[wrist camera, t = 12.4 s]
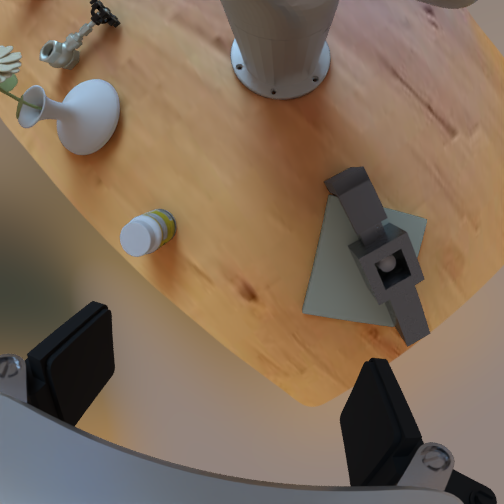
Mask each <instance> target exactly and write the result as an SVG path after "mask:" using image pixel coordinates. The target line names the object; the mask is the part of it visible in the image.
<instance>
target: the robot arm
mask: <svg viewBox="0 0 504 504" xmlns="http://www.w3.org/2000/svg"><path fill="white" fill-rule="evenodd" d="M220 1H221V3H222V5H223V8H224V11H225V13H226V16H227V19H228V21H229V24H230V26H231V29H232V32H233V34H234V37H235V39H234V41H233V44H232V47H231V55H230V56H231V64H232V67H233V69H234V72H235V74H236V76H237V77H238V79H239V80H240V81H241V82H242V84H243V85H245V86H246V87H247V88H248V89H249V90H251V91H253V92H254V93H256V94H258V95H261V96H263V97H266V98H271V99H279V100H286V99H294V98H298V97H301V96H304V95H306V94H308V93H310V92H311V91H313V90H314V89H315V88H317V87H318V86H319V85H320V83H321V82H322V81H323V80H324V78H325V76H326V74H327V72H328V69H329V66H330V59H331V58H330V50H329V47H328V44H327V42H326V38H327V35H328V32H329V29H330V26H331V24H332V21H333V18H334V15H335V12H336V9H337V6H338V3H339V0H220ZM417 1H420V2H423V3H427V4H430V5H433V6H437V7H441V8H448V9H459V8H464V7H467V6H469V5H471V4H473V3H475V2H476V1H477V0H417ZM240 67H241V68H242V69H241V70H238V68H240ZM313 79H316V80H317V82H314V81H313ZM272 92H276V94H274V95H273V94H272ZM27 356H28V358H27V359H26V360H25V361H24V360H23V359H22V358H21V357H20V356H18V355H15V354H2V355H0V504H497V501H496V497H495V494H494V493H493V491H492V490H491V489H489V488H488V487H486V486H484V485H482V484H480V483H478V482H476V481H474V480H472V479H470V478H469V477H467V476H465V475H463V474H461V473H459V472H457V471H455V470H454V469H453V467H454V457H453V455H452V453H451V452H450V451H449V450H448V449H447V448H446V447H445V446H443V445H441V444H438V443H433V442H430V443H425V444H424V443H423V441H422V436H421V433H420V431H419V429H418V426H417V424H416V422H415V419H414V417H413V415H412V413H411V410H410V408H409V406H408V404H407V401H406V399H405V397H404V395H403V393H402V391H401V388H400V386H399V384H398V382H397V380H396V378H395V376H394V374H393V371H392V369H391V367H390V365H389V363H388V361H387V360H386V359H379V358H371V359H370V360H369V361H366V362H365V363H364V364H363V367H362V369H361V371H360V374H359V376H358V378H357V381H356V383H355V385H354V387H353V390H352V392H351V394H350V396H349V398H348V400H347V402H346V404H345V407H344V409H343V411H342V413H341V416H340V424H341V430H342V436H343V442H344V446H345V453H346V459H347V465H348V472H349V478H350V485H351V486H350V487H349V486H348V487H347V486H344V487H341V486H340V487H339V486H311V485H296V484H283V483H274V482H266V481H258V480H251V479H245V478H239V477H233V476H227V475H221V474H216V473H212V472H207V471H203V470H199V469H194V468H190V467H186V466H182V465H179V464H175V463H171V462H168V461H164V460H161V459H158V458H154V457H151V456H148V455H145V454H142V453H139V452H136V451H133V450H130V449H127V448H125V447H122V446H119V445H117V444H114V443H111V442H109V441H106V440H104V439H102V438H99V437H97V436H94V435H92V434H89V433H87V432H85V431H83V430H81V429H78V428H76V427H74V426H75V425H76V424H77V422H78V421H79V420H80V418H81V417H82V415H83V414H84V413H85V411H86V410H87V409H88V407H89V406H90V405H91V403H92V402H93V401H94V399H95V398H96V396H97V395H98V394H99V393H100V391H101V390H102V389H103V387H104V386H105V385H106V383H107V382H108V381H109V379H110V378H111V377H112V375H113V373H114V370H115V364H114V351H113V337H112V315H111V311H110V310H108V307H107V306H106V305H104V304H101V303H98V302H95V301H92V302H90V303H89V304H88V305H87V306H85V307H84V308H83V309H81V311H79V312H78V313H76V314H75V315H74V316H73V317H71V318H70V319H69V320H68V321H66V322H65V323H64V324H63V325H61V326H60V327H59V328H58V329H56V330H55V331H54V332H53V333H52V334H50V335H49V336H48V337H47V338H46V339H44V340H43V341H42V342H41V343H39V344H38V345H37V346H36V347H35V348H34V349H33V350H31V351H30V352H29V353H28V354H27Z"/></svg>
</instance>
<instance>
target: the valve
mask: <svg viewBox="0 0 504 504" xmlns="http://www.w3.org/2000/svg"><path fill="white" fill-rule="evenodd" d="M93 3H94V4H93ZM90 4H93V5H92V6H91V7H92V9H91V15H92V17H91V20H92V21H91V22H90V23H89V24H87V23H85V24H84V25H83V26H82V27H81V28H80V29H79V30H80V31H79V32H78V33H77V32H76V33H75V34H73V33H70V34H69V35H68V36H67V37H66V41H65V42H64V43H59V42H57V41H52V40H49V41H48V42H47V43H46V44H45V45H44V46H43V47H42V49H41V51H40V60H41V61H44V62H47V63H49V65H50V66H52V67H54V68H64V69H68V70H72V69H73V68H74V66H75V65H76V64H77V63H78V62H79V55H80V52H79V51H77V50H75V49H78V48H79V47H80V46H81V45H82V40H83V36H84V35H85V36H87V35H88V34H89V33H90V32H91V31H92V30H93V29H92V27H93V26H94V25H100V24H105V23H107V22H108V24H109V25H111V26H112V25H113V26H114V27H115V28H116V27H117V26H118V25H119V24H120V22H119V21H118V20H117V19H118V18H117V17H116V16H115V15H113V14H112V13H111V11H110V9H109V8H107V7H105V6H104V5H103V3H102V2H101V1H100V0H99V1H98V0H91V1H90ZM96 9H98V10H99V12H97V13H96V14H95V12H94V11H95V10H96ZM106 18H107V19H106Z"/></svg>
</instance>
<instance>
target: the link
mask: <svg viewBox="0 0 504 504" xmlns="http://www.w3.org/2000/svg"><path fill="white" fill-rule="evenodd" d="M356 235H357V234H356ZM357 237H358V239H359V240H357V241H355V242H353V243H352V244H350V245H348V248H349V250H350V252H351V254H352V256H353V258H354V261H355V263H356V265H357V267H358V269H359V271H360V273H361V276H362V278H363V280H364V282H365V284H366V287H367V288H368V290H369V291H370V292H371V294H372V295H373V297H374V298H375V300H376V301H377V303H378V304H379V305H381V304H383V303H384V302H385V304H386V307H387V309H388V312H389V314H390V317H391V319H392V322H393V325H394V326H395V328H396V329H397V331H398V332H399V334H400V336H401V337H402V339H403V340H404V342H405V343H406V345H407V347H408V346H409V345H411V344H413V343H415V342H417V341H418V340H420V339H422V338H423V337H425V336H427V335H428V334H430V331H429V328H428V325H427V321H426V318H425V315H424V312H423V308H422V305H421V302H420V299H419V296H418V293H417V291H416V288H415V285H416V284H418V283H419V282H421V281H423V280H424V276H423V273H422V271H421V268H420V265H419V262H418V259H417V257H416V254H415V251H414V248H413V246H412V243H411V241H410V238H409V236H408V233H407V232H406V231H404V230H403V229H401V228H399V227H397V226H395V225H393V224H391V223H388V224H386V225H384V226H383V225H382V223H381V222H380V223H378V224H376V225H374V226H372V227H371V228H369V229H367V230H365V231H363V232H362V233H360V234H358V235H357ZM391 254H392V255H393V256H394V257H395V259H396V265H395V267H394V269H393V270H391V271H389V272H384V271H382V270H381V269H378V270H377V269H376V266H375V263H377V262H379V261H380V260H382V259H384V258H386V257H388V256H389V255H391Z"/></svg>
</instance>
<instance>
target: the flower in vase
mask: <svg viewBox="0 0 504 504" xmlns="http://www.w3.org/2000/svg"><path fill="white" fill-rule="evenodd" d="M12 49H13V46H7V47H4V46H0V87H1V88H0V91H1V92H2V93H4V94H6V95H8V96H10V97H11V98H13V99H15V100H17V101H19V103H18V106H17V112H16V117H17V119H18V122H19V124H20V125H21V126H22V127H23V128H30V127H32V126H34V125H35V124H36V123H37V122H38V121H40V120H44V119H56V120H57V132H58V136H59V139H60V141H61V143H62V144H63V146H64V147H65V148H66V149H68V150H69V151H70V152H72V153H74V154H77V155H88V154H91V153H94V152H96V151H97V150H99V149H100V148H102V147H103V146H104V145H105V144H106V143H107V141H108V140H109V139H110V137H111V136H112V134H113V132H114V131H115V128H116V126H117V123H118V119H119V114H120V103H119V98H118V95H117V92H116V90H115V89H114V87H113V86H112V85H111V84H109V83H108V82H106V81H104V80H100V79H93V80H88V81H85V82H82V83H80V84H78V85H77V86H75V87H74V88H73V89H72V90H71V91H70V92H69V93H68V94H67V96H66V97H65V99H64V100H63V102H62V103H60V102H56V101H54V100H51V99H49V98H48V97H47V96H46V95H45V92H44V90H43V88H42V87H40V86H38V85H35V86H32V87H30V88H29V89H28V90H27V91H26V92H25V93H24V94H23V95H22V96H21V98H18V97H16V96H14V95H12V94H11V93H9V91H11V90H12V89H13V88H14V87H15V86H16V85H17V82H18V80H17V78H16V76H15V73H17V72H19V71H20V69H19V68H18V67H20V66H21V62H18V61H19V60H20V59H21V58H22V56H21V53H20V52H16V53H10V52H11V51H12ZM8 53H9V54H8Z"/></svg>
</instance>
